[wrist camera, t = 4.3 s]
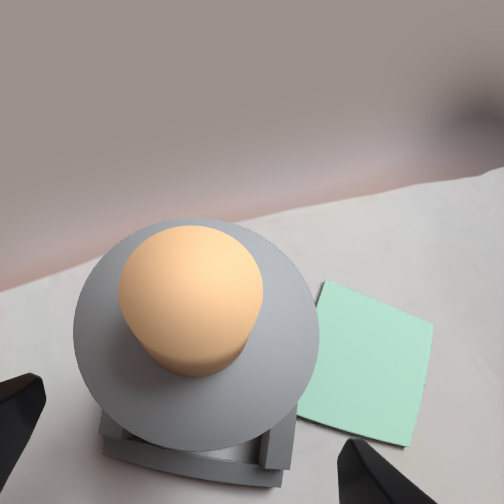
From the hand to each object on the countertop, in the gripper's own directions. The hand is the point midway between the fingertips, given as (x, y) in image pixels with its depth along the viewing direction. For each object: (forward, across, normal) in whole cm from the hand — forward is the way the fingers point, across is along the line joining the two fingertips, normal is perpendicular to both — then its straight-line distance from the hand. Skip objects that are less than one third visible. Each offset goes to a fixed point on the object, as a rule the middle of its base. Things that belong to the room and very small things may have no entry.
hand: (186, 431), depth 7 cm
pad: (+10, -10, +3) cm, 14 cm away
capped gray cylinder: (+8, 0, +5) cm, 10 cm away
